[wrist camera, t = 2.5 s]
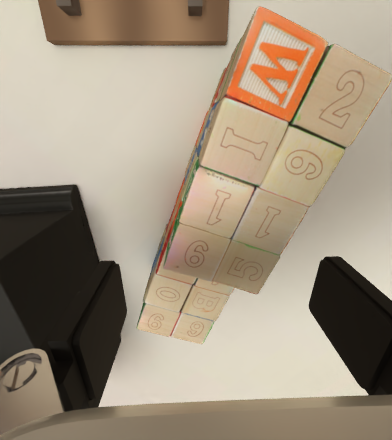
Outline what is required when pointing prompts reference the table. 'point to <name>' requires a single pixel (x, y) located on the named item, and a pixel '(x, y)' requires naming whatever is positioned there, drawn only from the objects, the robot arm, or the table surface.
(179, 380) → the table surface
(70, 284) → the bookend
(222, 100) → the stack of blocks
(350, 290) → the robot arm
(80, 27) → the slot board
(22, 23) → the table surface
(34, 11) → the table surface
